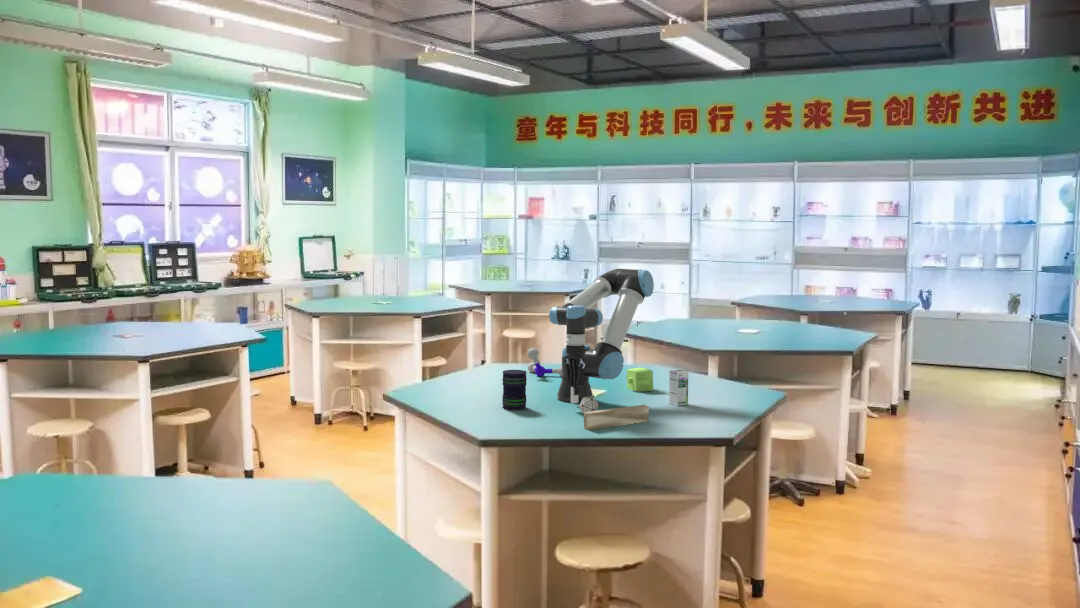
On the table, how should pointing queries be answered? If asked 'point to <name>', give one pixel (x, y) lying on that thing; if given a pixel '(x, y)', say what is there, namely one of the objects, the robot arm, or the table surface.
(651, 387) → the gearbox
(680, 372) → the syrup box
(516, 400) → the storage jar
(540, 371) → the molecular model
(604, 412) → the birch board
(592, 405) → the game die
